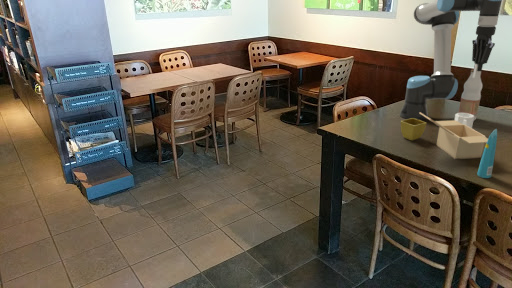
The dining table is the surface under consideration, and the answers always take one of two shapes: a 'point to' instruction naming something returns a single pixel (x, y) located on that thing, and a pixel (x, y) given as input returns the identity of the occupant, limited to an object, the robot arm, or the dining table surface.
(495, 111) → the dining table surface
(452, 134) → the flap
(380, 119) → the dining table surface
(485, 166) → the tube
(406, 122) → the flower pot
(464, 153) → the carton
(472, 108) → the fruit juice
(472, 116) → the mug
